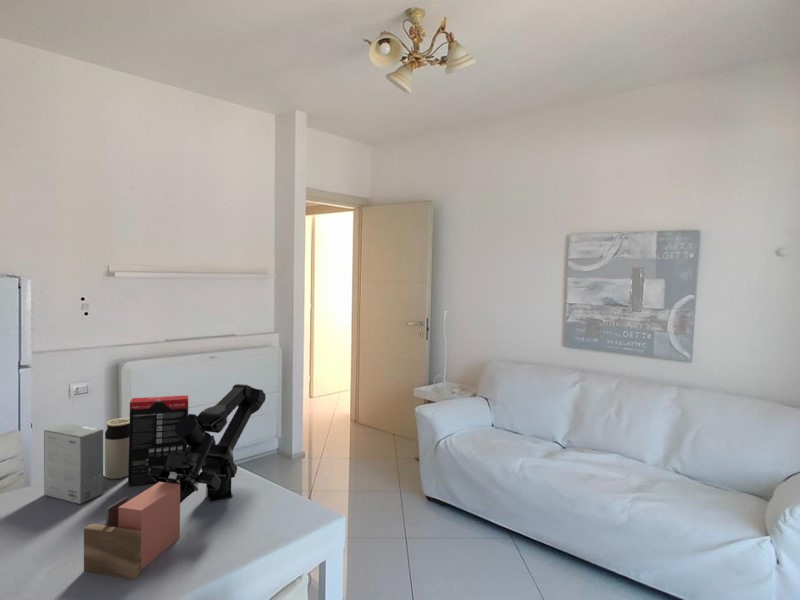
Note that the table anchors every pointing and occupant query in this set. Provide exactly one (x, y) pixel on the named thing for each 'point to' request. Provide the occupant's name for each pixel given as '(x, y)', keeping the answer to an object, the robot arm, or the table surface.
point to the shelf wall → (112, 551)
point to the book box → (153, 518)
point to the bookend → (114, 513)
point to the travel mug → (117, 448)
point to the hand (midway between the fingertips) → (170, 510)
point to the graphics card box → (154, 434)
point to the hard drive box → (73, 462)
